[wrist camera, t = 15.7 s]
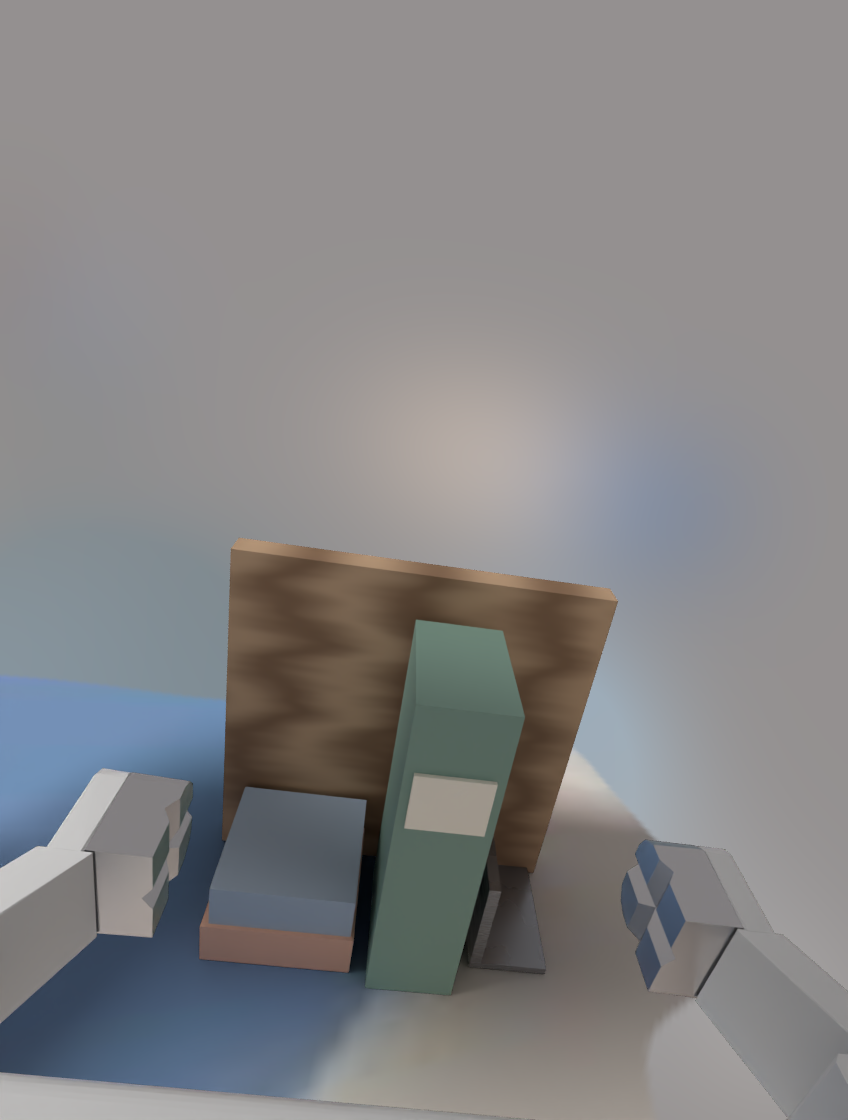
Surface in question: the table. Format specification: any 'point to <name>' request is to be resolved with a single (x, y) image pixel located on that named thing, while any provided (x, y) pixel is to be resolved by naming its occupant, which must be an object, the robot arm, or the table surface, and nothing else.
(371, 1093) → the table surface
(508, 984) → the table surface
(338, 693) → the shelf wall
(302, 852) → the book stack
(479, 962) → the bookend
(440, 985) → the green book
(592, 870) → the table surface
